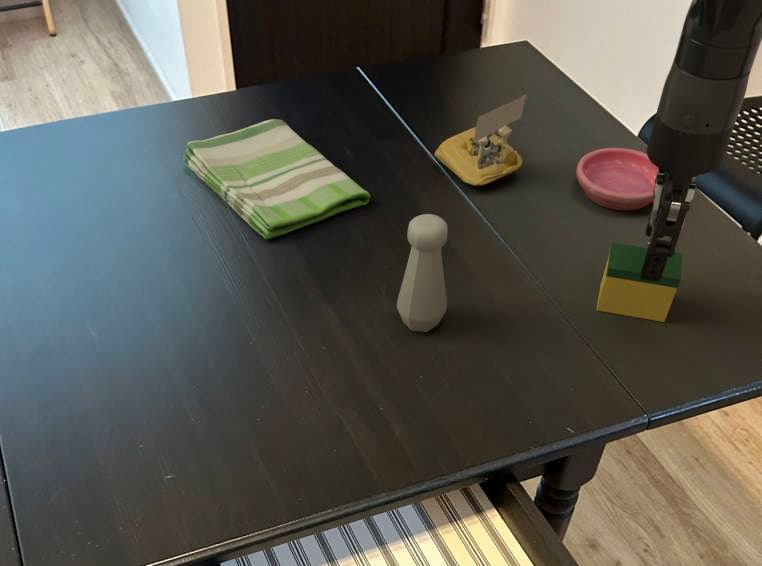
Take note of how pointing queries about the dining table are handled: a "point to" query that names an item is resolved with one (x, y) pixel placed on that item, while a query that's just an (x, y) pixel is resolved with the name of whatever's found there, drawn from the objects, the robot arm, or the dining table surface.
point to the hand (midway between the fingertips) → (652, 256)
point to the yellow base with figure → (484, 147)
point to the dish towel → (273, 178)
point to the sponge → (637, 285)
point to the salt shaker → (424, 274)
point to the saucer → (617, 178)
